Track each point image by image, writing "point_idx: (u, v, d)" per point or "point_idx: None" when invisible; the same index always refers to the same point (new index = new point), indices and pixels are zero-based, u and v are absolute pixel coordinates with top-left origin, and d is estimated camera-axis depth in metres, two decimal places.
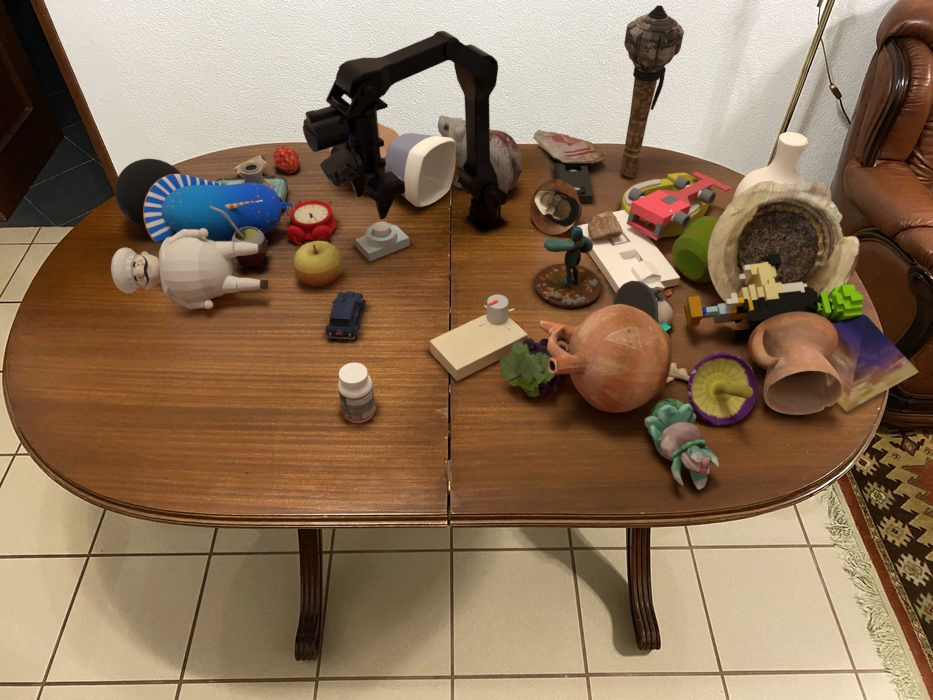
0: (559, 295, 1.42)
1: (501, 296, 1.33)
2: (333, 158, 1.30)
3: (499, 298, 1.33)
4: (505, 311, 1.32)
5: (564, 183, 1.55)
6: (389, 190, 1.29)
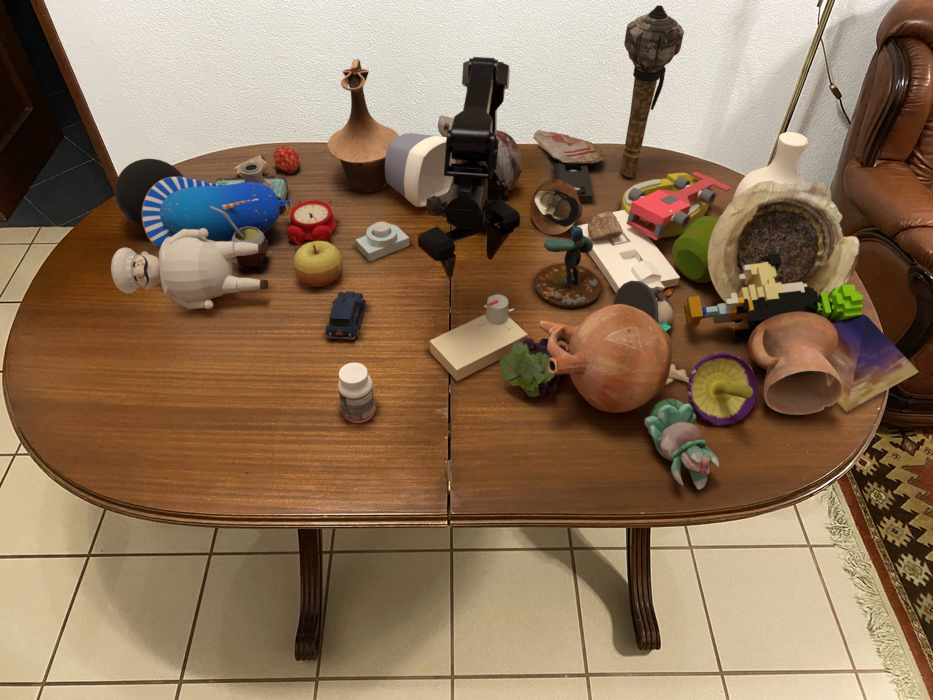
0: (559, 295, 1.42)
1: (501, 296, 1.33)
2: None
3: (499, 298, 1.33)
4: (505, 311, 1.32)
5: (564, 183, 1.55)
6: (424, 244, 1.22)
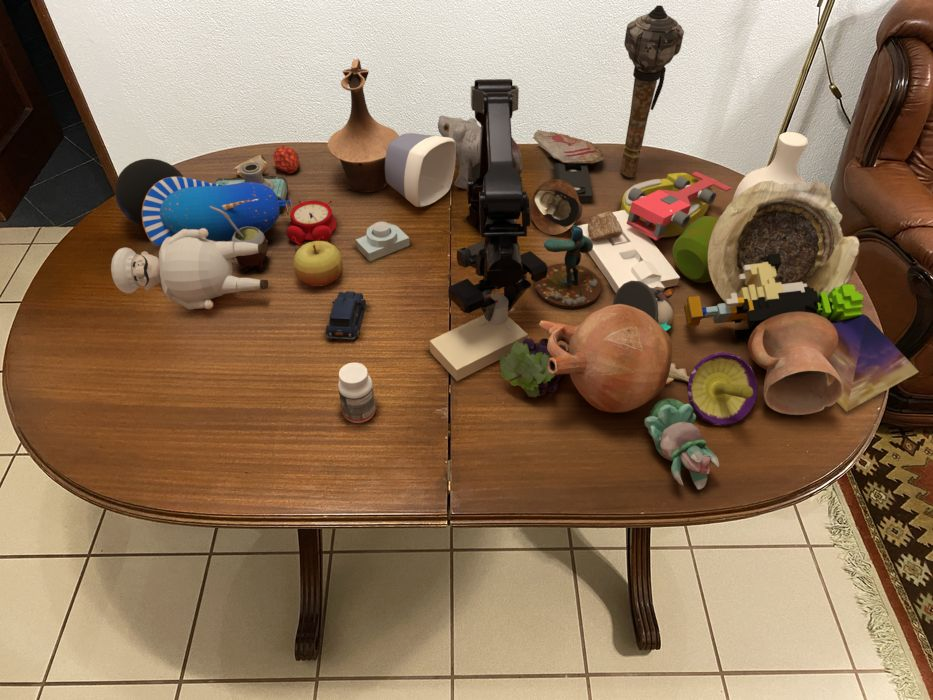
0: (559, 295, 1.42)
1: (501, 296, 1.33)
2: None
3: (499, 298, 1.33)
4: (505, 311, 1.32)
5: (564, 184, 1.55)
6: (454, 296, 1.25)
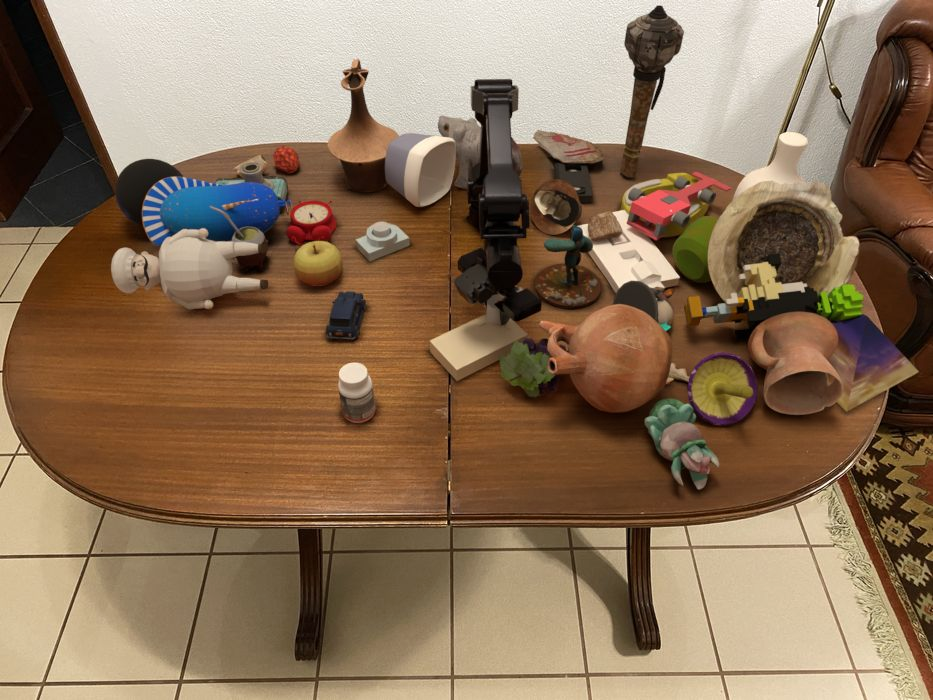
0: (559, 295, 1.42)
1: (490, 298, 1.33)
2: (468, 275, 1.25)
3: (493, 300, 1.33)
4: None
5: (564, 184, 1.55)
6: (527, 310, 1.23)
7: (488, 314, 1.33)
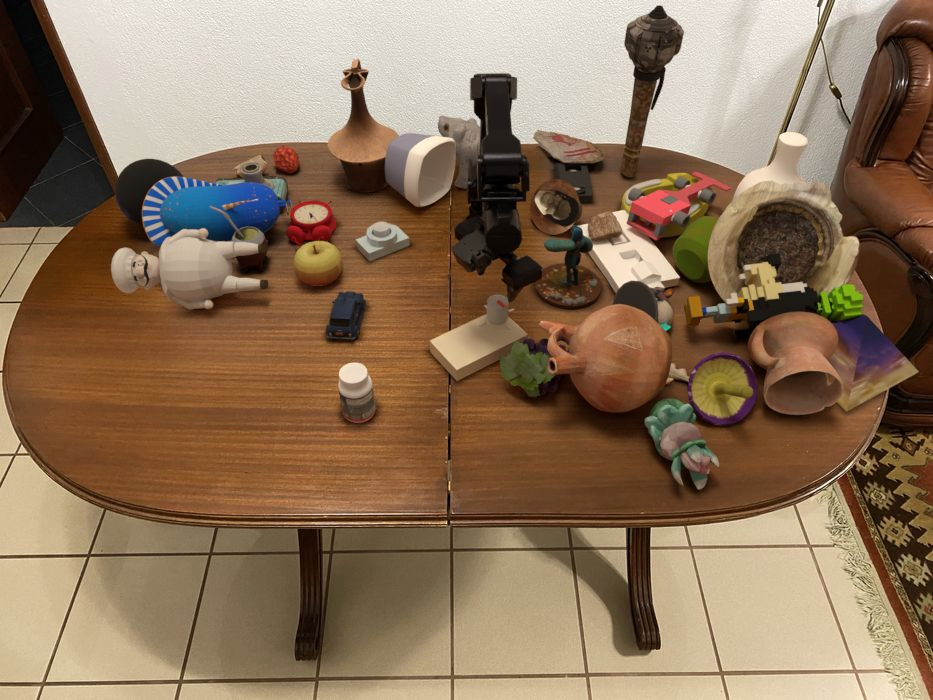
0: (559, 295, 1.42)
1: (490, 298, 1.33)
2: (466, 242, 1.20)
3: (493, 300, 1.33)
4: None
5: (564, 184, 1.55)
6: (528, 278, 1.19)
7: (488, 314, 1.33)
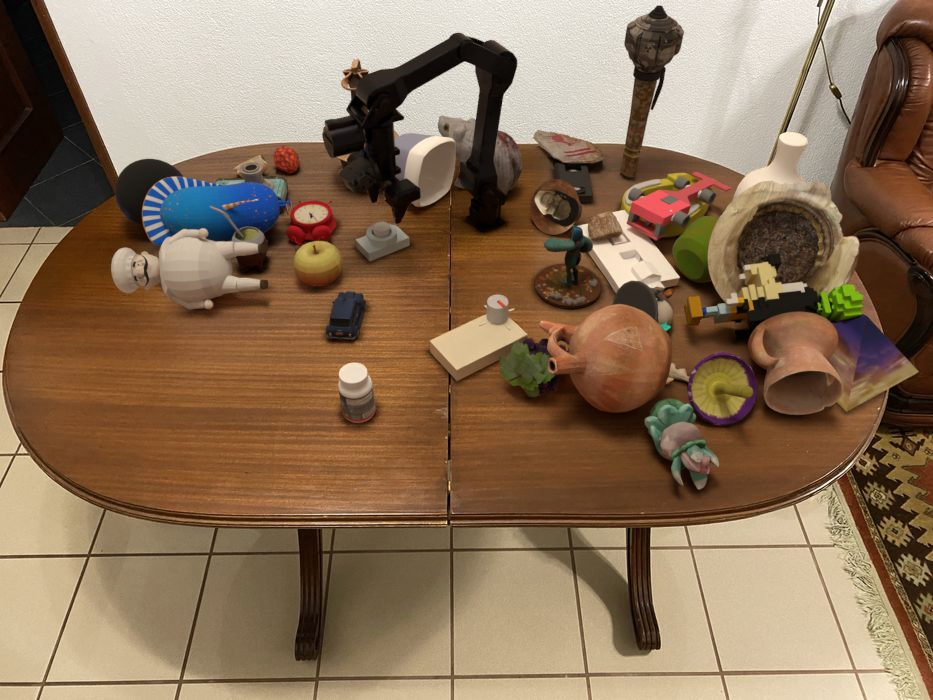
0: (559, 295, 1.42)
1: (490, 298, 1.33)
2: (351, 166, 1.37)
3: (493, 300, 1.33)
4: None
5: (564, 184, 1.55)
6: (406, 196, 1.35)
7: (488, 314, 1.33)
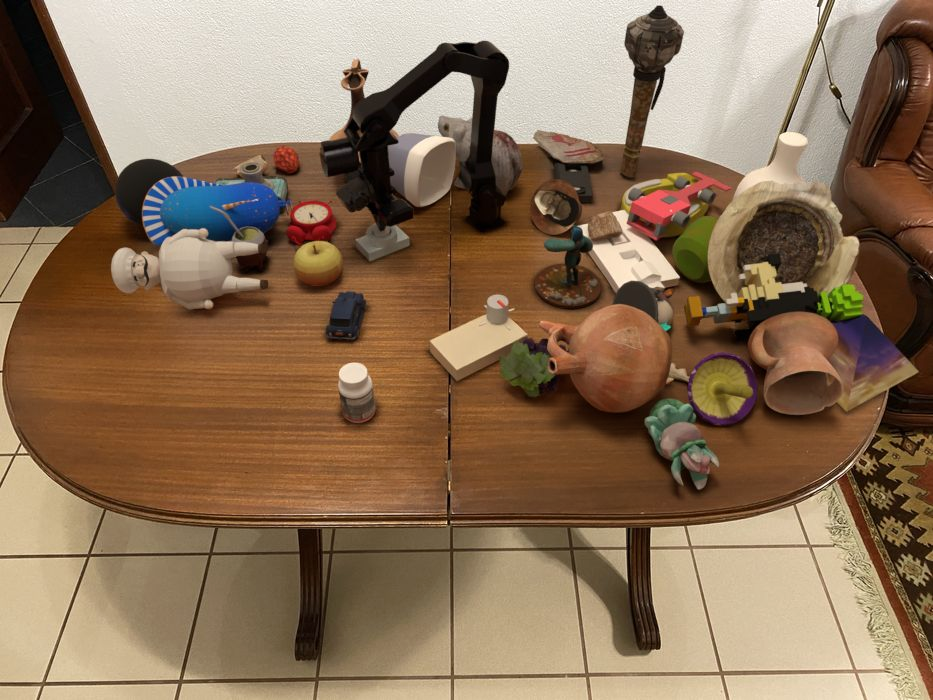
0: (559, 295, 1.42)
1: (490, 298, 1.33)
2: (348, 186, 1.42)
3: (493, 300, 1.33)
4: None
5: (564, 184, 1.55)
6: (399, 216, 1.41)
7: (488, 314, 1.33)
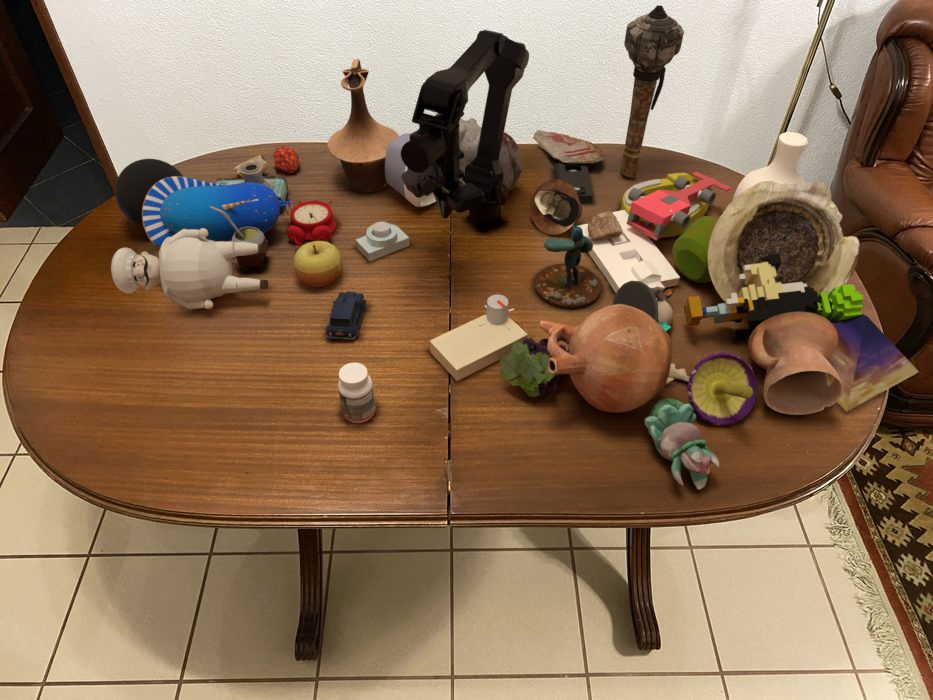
0: (559, 295, 1.42)
1: (490, 298, 1.33)
2: None
3: (493, 300, 1.33)
4: None
5: (564, 184, 1.55)
6: (470, 201, 1.31)
7: (488, 314, 1.33)
